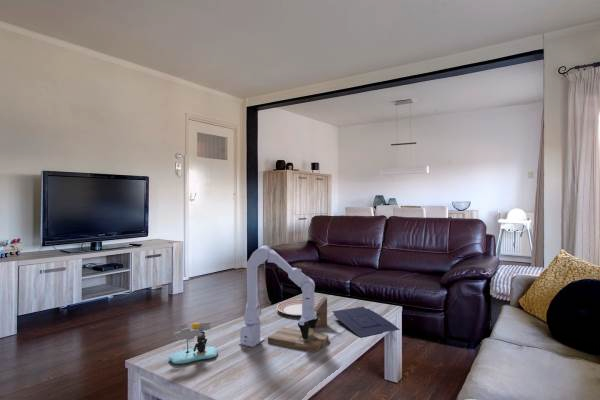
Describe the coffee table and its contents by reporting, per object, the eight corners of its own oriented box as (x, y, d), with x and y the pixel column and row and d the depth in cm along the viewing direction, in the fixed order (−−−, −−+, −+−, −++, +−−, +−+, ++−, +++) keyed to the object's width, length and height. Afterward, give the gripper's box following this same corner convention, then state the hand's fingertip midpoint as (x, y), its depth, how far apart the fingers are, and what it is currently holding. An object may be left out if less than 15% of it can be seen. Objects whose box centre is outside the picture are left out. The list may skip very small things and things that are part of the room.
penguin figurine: (216, 349, 164) (216, 314, 163) (221, 359, 154) (221, 322, 154) (168, 357, 156) (167, 320, 156) (169, 367, 146) (169, 329, 146)
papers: (365, 310, 214) (365, 304, 214) (400, 334, 187) (400, 327, 187) (328, 316, 204) (328, 310, 203) (359, 342, 177) (359, 335, 176)
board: (316, 352, 160) (316, 346, 160) (267, 342, 171) (267, 337, 171) (328, 340, 173) (328, 335, 173) (282, 332, 183) (282, 327, 183)
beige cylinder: (311, 346, 166) (311, 332, 166) (300, 344, 168) (300, 330, 168) (315, 342, 171) (315, 328, 171) (305, 340, 173) (305, 326, 173)
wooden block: (327, 325, 193) (327, 290, 193) (308, 328, 189) (308, 292, 189) (324, 323, 197) (324, 289, 196) (305, 326, 192) (305, 291, 192)
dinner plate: (305, 322, 198) (305, 316, 198) (266, 312, 214) (266, 307, 214) (333, 310, 219) (333, 304, 219) (296, 302, 236) (296, 296, 236)
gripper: (309, 311, 161) (309, 343, 161) (322, 303, 174) (322, 332, 174) (294, 309, 164) (294, 340, 164) (308, 301, 177) (308, 329, 177)
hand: (308, 336), depth 169 cm, fingers open, 6 cm apart
